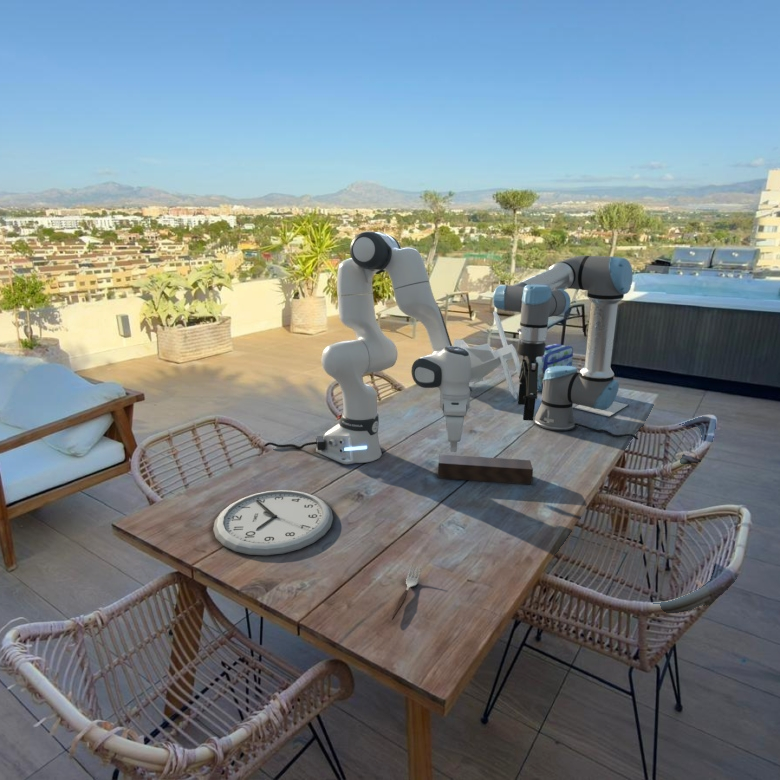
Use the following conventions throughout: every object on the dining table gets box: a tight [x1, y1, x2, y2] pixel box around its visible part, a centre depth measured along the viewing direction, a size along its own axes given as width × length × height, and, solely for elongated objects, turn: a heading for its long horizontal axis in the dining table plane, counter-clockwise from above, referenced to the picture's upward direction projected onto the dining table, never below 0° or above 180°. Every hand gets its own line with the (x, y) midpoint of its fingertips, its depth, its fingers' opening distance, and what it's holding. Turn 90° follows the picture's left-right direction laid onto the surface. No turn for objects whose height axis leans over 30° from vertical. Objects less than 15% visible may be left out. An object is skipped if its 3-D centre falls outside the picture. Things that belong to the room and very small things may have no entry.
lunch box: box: [536, 343, 574, 392], centre depth 248 cm, size 26×11×21 cm, turn 134°
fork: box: [391, 565, 422, 620], centre depth 108 cm, size 3×16×2 cm, turn 160°
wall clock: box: [212, 489, 334, 556], centre depth 134 cm, size 30×2×30 cm
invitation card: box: [573, 401, 629, 418], centre depth 226 cm, size 21×1×15 cm
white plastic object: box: [452, 310, 521, 400], centre depth 245 cm, size 37×45×31 cm
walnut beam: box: [437, 454, 534, 485], centre depth 160 cm, size 28×6×5 cm, turn 83°
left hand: (453, 445), depth 159 cm, fingers open, 8 cm apart
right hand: (524, 412), depth 153 cm, fingers open, 13 cm apart
